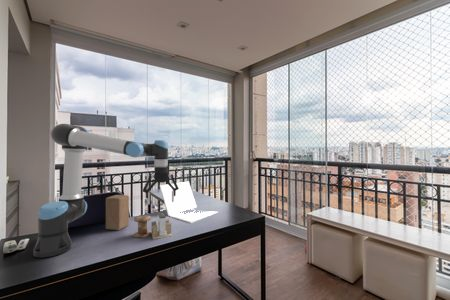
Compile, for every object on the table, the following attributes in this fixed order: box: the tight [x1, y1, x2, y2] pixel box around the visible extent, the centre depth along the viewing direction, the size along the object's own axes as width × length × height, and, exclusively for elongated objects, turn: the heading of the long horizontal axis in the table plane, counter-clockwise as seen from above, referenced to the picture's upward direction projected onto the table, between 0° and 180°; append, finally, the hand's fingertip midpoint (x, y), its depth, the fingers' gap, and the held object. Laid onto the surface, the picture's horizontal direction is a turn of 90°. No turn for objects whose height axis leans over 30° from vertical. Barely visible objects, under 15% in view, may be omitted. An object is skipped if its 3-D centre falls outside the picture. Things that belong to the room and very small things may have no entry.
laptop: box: [159, 181, 219, 224], centre depth 167 cm, size 30×35×23 cm
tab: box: [157, 212, 166, 236], centre depth 126 cm, size 3×9×11 cm, turn 24°
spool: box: [133, 215, 152, 239], centre depth 126 cm, size 9×9×10 cm
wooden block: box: [105, 194, 130, 231], centre depth 138 cm, size 10×10×20 cm
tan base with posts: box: [150, 219, 172, 240], centre depth 126 cm, size 10×10×7 cm
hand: (161, 202), depth 126 cm, fingers open, 13 cm apart
